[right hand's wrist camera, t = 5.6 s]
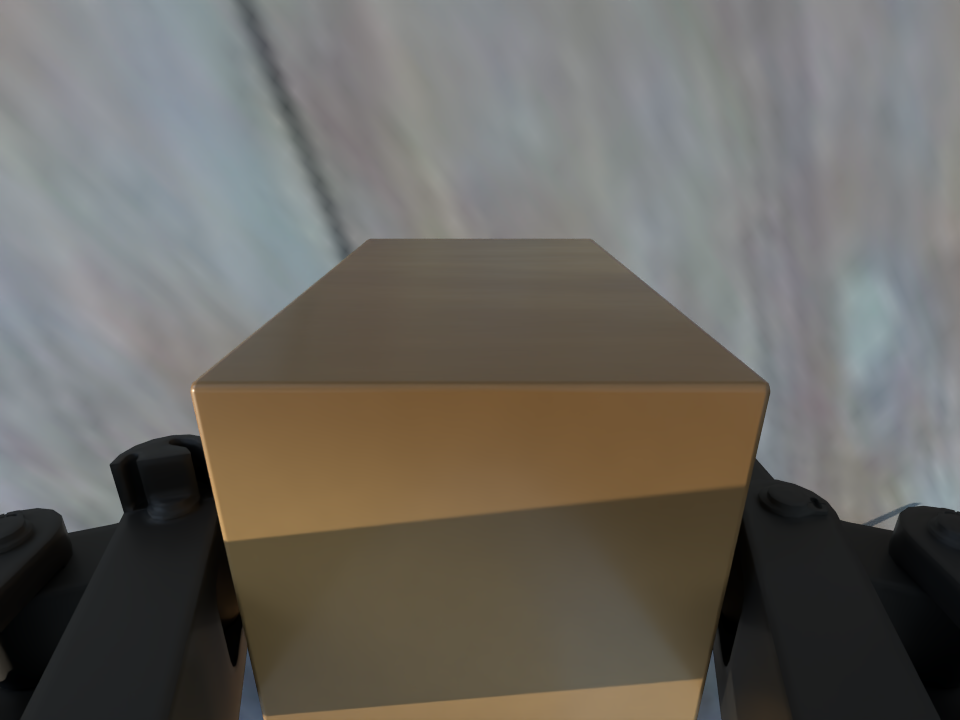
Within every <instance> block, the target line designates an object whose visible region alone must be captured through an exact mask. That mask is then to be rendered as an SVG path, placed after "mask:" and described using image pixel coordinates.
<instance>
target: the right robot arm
mask: <svg viewBox="0 0 960 720" xmlns="http://www.w3.org/2000/svg"><path fill="white" fill-rule="evenodd" d="M110 468H111V471H112V475H113V478H114V481H115V484H116V488H117V491H118V494H119V498H120V501H121V504H122V508H123V511H124V514H123V516H122V518H121V520H120V522H119V523H116V524H112V525H107V526H102V527H97V528H92V529H87V530H81V531H76V532H71V533H68V532H67V529H66V527H65V524H64V521H63V518H62V515H60V514H59V513H57V512H56V511H54V510H51V509H41V508H35V509H28V510H18V511H13V512H8V513H7V514H5V515H4V514H2V515H0V720H239V712H240V704H241V696H242V688H243V679H244V671H245V663H246V654H247V642H246V638H245V633H244V629H243V624H242V620H241V616H240V611H239V607H238V602H237V598H236V593H235V589H234V584H233V580H232V575H231V571H230V566H229V562H228V557H227V553H226V548H225V544H224V540H223V535H222V531H221V526H220V522H219V517H218V513H217V508H216V504H215V499H214V495H213V490H212V486H211V481H210V477H209V472H208V468H207V463H206V459H205V455H204V450H203V446H202V441H201V437H200V436H195V435H172V436H167V437H162V438H157V439H153V440H150V441H147V442H145V443H142V444H139V445H136V446H134V447H132V448H131V449H129V450H127V451H125V452H124V453H122V454H120V455H119V456H118V457H117V458H116V459H115V460H114V461H113V462H112V463H111V464H110ZM713 653H714V661H715V670H716V678H717V686H718V694H719V703H720V711H721V719H722V720H960V512H958V511H957V512H955V510H950V509H946V508H936V507H929V506H917V507H908V508H907V509H905V510H904V511H902V512H901V513H900V514H899V517H898V520H897V523H896V525H895V528H894V531H891V530H886V529H881V528H876V527H871V526H865V525H860V524H855V523H850V522H846V521H842V520H840V519H839V517H838V515H837V513H836V512H835V510H834V509H833V508H832V507H831V506H830V504H829V503H828V502H827V501H826V500H824V499H823V498H821V497H820V496H818V495H817V494H815V493H814V492H812V491H810V490H807V489H805V488H803V487H800V486H798V485H796V484H792V483H788V482H784V481H780V480H774V479H773V477H772V476H771V475H770V474H769V473H768V472H767V471H766V470H765V468H764V467H763V466H762V465H761V464H760V463H759V462H758V461H757V459H756V458H755V462H754V467H753V471H752V476H751V480H750V485H749V489H748V493H747V498H746V502H745V507H744V511H743V516H742V520H741V525H740V529H739V534H738V538H737V543H736V547H735V551H734V556H733V560H732V565H731V569H730V574H729V578H728V583H727V587H726V592H725V596H724V601H723V605H722V609H721V614H720V618H719V623H718V627H717V632H716V636H715V641H714V645H713Z"/></svg>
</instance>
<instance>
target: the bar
mask: <svg viewBox="0 0 960 720" xmlns="http://www.w3.org/2000/svg"><path fill="white" fill-rule="evenodd" d="M769 395H770V386H769V384H768V382H766V381H765V380H764V379H763V378H761V377H760V376H759V375H758V374H757V373H755V372H754V371H753V370H752V369H750V368H749V367H748V366H747V365H745V364H744V363H743V362H742V361H741V360H739V359H738V358H737V357H736V356H734V355H733V354H732V353H731V352H729V351H728V350H727V349H726V348H725V347H723V346H722V345H721V344H720V343H718V342H717V341H716V340H715V339H714V338H712V337H711V336H710V335H709V334H707V333H706V332H705V331H704V330H702V329H701V328H700V327H699V326H698V325H696V324H695V323H694V322H693V321H691V320H690V319H689V318H688V317H687V316H685V315H684V314H683V313H682V312H680V311H679V310H678V309H677V308H675V307H674V306H673V305H672V304H671V303H669V302H668V301H667V300H666V299H664V298H663V297H662V296H661V295H660V294H658V293H657V292H656V291H655V290H653V289H652V288H651V287H650V286H648V285H647V284H646V283H645V282H644V281H642V280H641V279H640V278H639V277H637V276H636V275H635V274H634V273H633V272H631V271H630V270H629V269H628V268H626V267H625V266H624V265H623V264H621V263H620V262H619V261H618V260H617V259H615V258H614V257H613V256H612V255H610V254H609V253H608V252H607V251H605V250H604V249H603V248H602V247H601V246H599V245H598V244H597V243H596V242H594V241H593V240H591V239H369V240H367V241H366V242H365V243H363V244H362V245H361V246H360V247H359V248H357V249H356V250H355V251H354V252H352V253H351V254H350V255H349V256H347V257H346V258H345V259H344V260H343V261H341V262H340V263H339V264H338V265H336V266H335V267H334V268H333V269H332V270H330V271H329V272H328V273H327V274H325V275H324V276H323V277H322V278H321V279H319V280H318V281H317V282H316V283H314V284H313V285H312V286H311V287H310V288H308V289H307V290H306V291H305V292H303V293H302V294H301V295H300V296H299V297H297V298H296V299H295V300H294V301H292V302H291V303H290V304H289V305H287V306H286V307H285V308H284V309H283V310H281V311H280V312H279V313H278V314H276V315H275V316H274V317H273V318H272V319H270V320H269V321H268V322H267V323H265V324H264V325H263V326H262V327H261V328H259V329H258V330H257V331H256V332H254V333H253V334H252V335H251V336H250V337H248V338H247V339H246V340H245V341H243V342H242V343H241V344H240V345H238V346H237V347H236V348H235V349H234V350H232V351H231V352H230V353H229V354H227V355H226V356H225V357H224V358H223V359H221V360H220V361H219V362H218V363H216V364H215V365H214V366H213V367H212V368H210V369H209V370H208V371H207V372H205V373H204V374H203V375H202V376H201V377H199V378H198V379H197V380H196V381H194V382H193V383H192V386H191V396H192V401H193V405H194V410H195V414H196V419H197V423H198V428H199V432H200V437H201V441H202V446H203V450H204V455H205V459H206V463H207V468H208V472H209V477H210V481H211V486H212V490H213V495H214V499H215V504H216V508H217V513H218V517H219V522H220V526H221V531H222V535H223V540H224V544H225V548H226V553H227V557H228V562H229V566H230V571H231V575H232V580H233V584H234V589H235V593H236V598H237V602H238V607H239V611H240V616H241V620H242V624H243V629H244V633H245V638H246V642H247V647H248V651H249V656H250V660H251V665H252V669H253V674H254V678H255V683H256V687H257V692H258V696H259V701H260V705H261V709H262V714H263V718H264V720H697V716H698V712H699V708H700V703H701V699H702V694H703V690H704V685H705V681H706V676H707V672H708V667H709V663H710V658H711V654H712V650H713V645H714V641H715V636H716V632H717V627H718V623H719V618H720V614H721V609H722V605H723V601H724V596H725V592H726V587H727V583H728V578H729V574H730V569H731V565H732V560H733V556H734V551H735V547H736V543H737V538H738V534H739V529H740V525H741V520H742V516H743V511H744V507H745V502H746V498H747V493H748V489H749V485H750V480H751V476H752V471H753V467H754V462H755V458H756V453H757V449H758V444H759V440H760V436H761V431H762V427H763V422H764V418H765V413H766V409H767V404H768V400H769Z"/></svg>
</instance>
